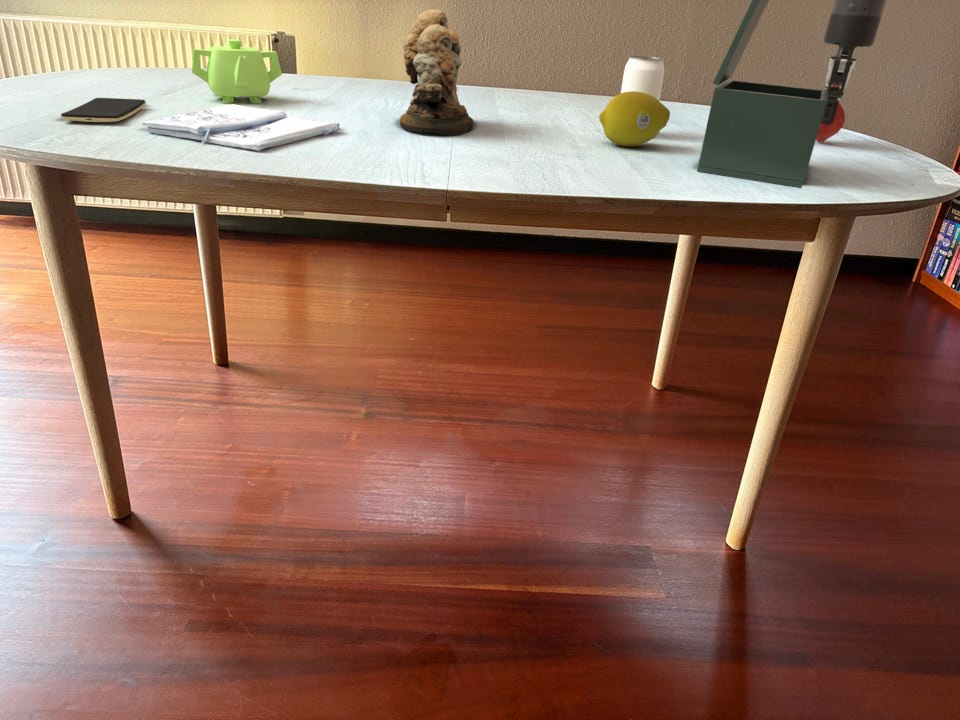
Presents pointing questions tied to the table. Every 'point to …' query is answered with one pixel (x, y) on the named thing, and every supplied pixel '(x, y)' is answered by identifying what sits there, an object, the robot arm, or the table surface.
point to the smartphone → (104, 110)
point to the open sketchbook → (240, 127)
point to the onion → (831, 126)
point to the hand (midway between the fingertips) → (825, 120)
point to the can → (643, 75)
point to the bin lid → (740, 40)
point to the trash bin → (762, 131)
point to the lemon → (633, 118)
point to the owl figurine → (434, 77)
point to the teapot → (237, 71)
